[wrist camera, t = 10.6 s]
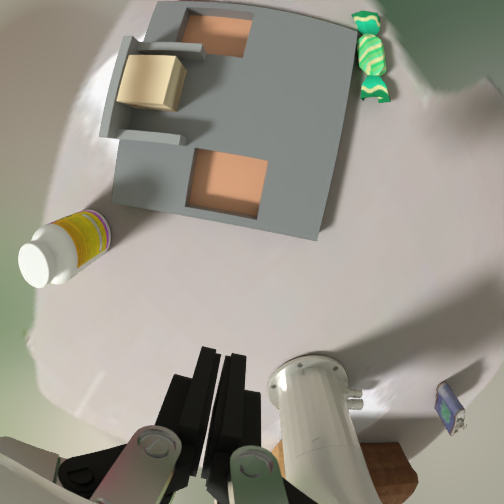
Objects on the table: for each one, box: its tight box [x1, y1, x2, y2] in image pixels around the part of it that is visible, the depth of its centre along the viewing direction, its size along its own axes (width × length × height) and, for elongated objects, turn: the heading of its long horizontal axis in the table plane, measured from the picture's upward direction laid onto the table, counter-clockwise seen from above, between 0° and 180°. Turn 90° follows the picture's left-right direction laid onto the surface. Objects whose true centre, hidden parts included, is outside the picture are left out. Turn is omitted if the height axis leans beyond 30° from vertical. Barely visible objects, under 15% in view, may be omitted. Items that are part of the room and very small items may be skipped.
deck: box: [99, 1, 358, 241], centre depth 26 cm, size 24×26×8 cm
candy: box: [352, 11, 391, 103], centre depth 26 cm, size 12×3×4 cm
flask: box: [434, 382, 467, 436], centre depth 39 cm, size 9×3×11 cm, turn 20°
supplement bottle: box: [18, 210, 111, 288], centre depth 28 cm, size 7×7×13 cm
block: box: [116, 55, 187, 112], centre depth 25 cm, size 5×5×5 cm
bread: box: [271, 440, 418, 504], centre depth 42 cm, size 18×30×16 cm, turn 73°
